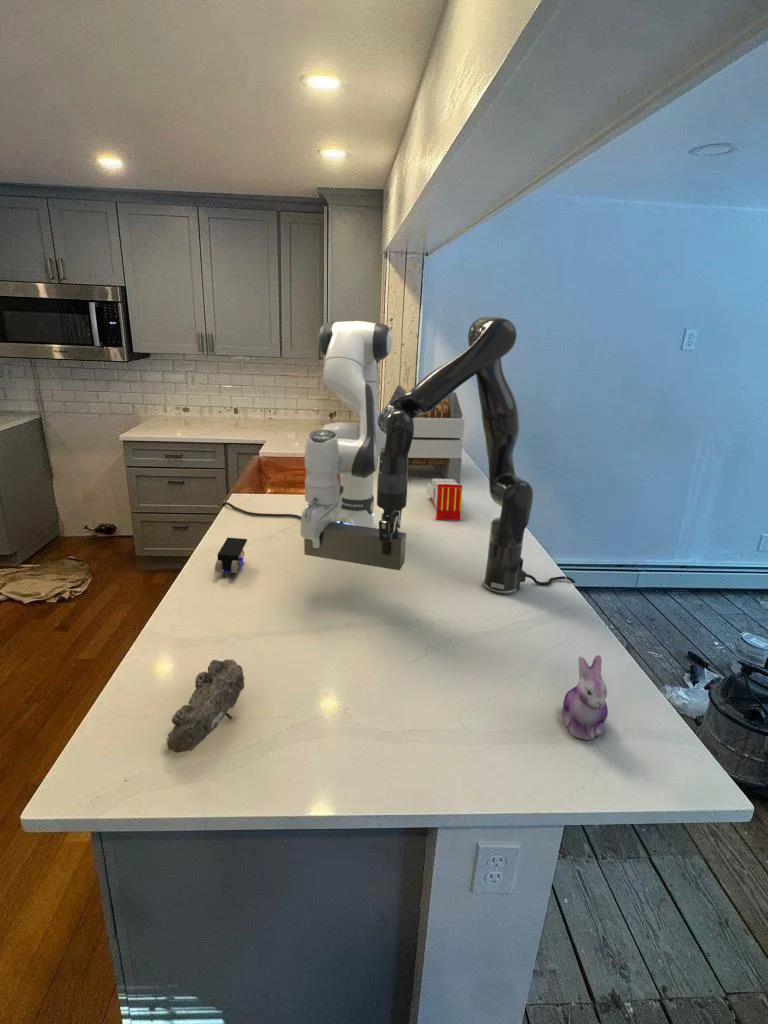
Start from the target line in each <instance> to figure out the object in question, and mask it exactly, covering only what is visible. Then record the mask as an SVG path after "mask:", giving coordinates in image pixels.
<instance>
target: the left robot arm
mask: <svg viewBox="0 0 768 1024" xmlns="http://www.w3.org/2000/svg"><path fill="white" fill-rule="evenodd" d="M317 342H318V347H319V350H320V352H321V354H323V356H325V359H324V363H323V372H322V381H323V384H324V386H325V388H326V390H328V392H329V393H330V394H331V395H333V396H334V397H335V398H337V399H338V400H341V401H342V404H343V406H344V407H345V408H346V409H347V410H348V411H349V412H352V413H353V414H355V415H356V416H358V417H359V422H347V421H346V422H343V421H337V422H331V423H325V424H324V425H323V426H322V427H321V429H317V430H314V431H311V432H309V434H308V435H307V437H306V442H305V450H304V469H305V479H304V500H305V502H307V504H306V507H305V508H304V509H302V512H301V515H299V514H294V513H293V514H292V513H263V512H261V513H260V512H251V511H247V510H244V509H242V508H239V507H238V506H237V507H236V506H235V505H233V504H232V503H230V502H228V501H225V502H223V503H222V504H221V507H225V506H229V507H230V508H232V509H233V510H235V511H238V512H240V513H242V514H245V515H249V516H255V517H273V518H274V517H275V518H276V517H279V518H281V517H282V518H283V517H284V518H286V517H288V518H297V519H299V520H300V536H301V538H302V539H304V538H305V539H312V541H313V547H314V548H319V547H320V546H321V540H320V539H319V536H320V533H321V532H322V531H323V530H324V528H325V527H326V526H327V525H328V524H330V523H331V522H336V523H343V524H350V525H356V526H363V527H370V528H375V523H374V517H375V513H373V512H374V509H375V496H374V473H375V472H376V471H377V468H378V467H379V458H380V452H381V449H382V448H384V447H385V443H386V434H385V433H384V432H382V431H381V430H380V428H379V426H378V417H379V414H380V413H381V411H380V409H379V406H378V365H377V364H378V363H379V364H380V362H381V361H383V360H384V359H386V358H387V357H388V356H389V354H390V351H391V349H392V346H393V336H392V333H391V328H389V326H388V325H387V324H386V323H385V324H384V323H381V322H370V321H365V320H364V321H363V320H355V321H353V320H351V321H350V320H348V321H344V320H343V321H335V320H331V321H326V322H324V323H323V324H322V325H321V326H320V328H319V332H318V337H317ZM338 475H339V476H338Z"/></svg>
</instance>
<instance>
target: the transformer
mask: <svg viewBox="0 0 768 1024" xmlns="http://www.w3.org/2000/svg"><path fill="white" fill-rule="evenodd" d="M406 393H407V390H406V389H404V388H403V387H402V385H399V384H398V385H397V386H396V388H395V390H394V392H393V394H392V395H391V398H390V400H389V402H388V404H390V403H391V402H393V401H394V400H396V399H398V398H399V397H401V396H402V395H404V394H406ZM388 404H387V405H388ZM413 422H414V435H413V439H412V443H411V447H410V450H409V453H408V466H411V467H412V466H413V467H415V466H416V467H417V466H418V467H436V468H437V470H438V469H439V473H440V474H441V475H443V479H454V480H455V481H456V482H457V483H458V484H459V483H461V472H462V461H463V460H462V453H463V442H464V441H463V440H462V439H463V438H464V431H465V430H464V429H465V419H464V418H463V411H462V408H461V405H460V402H459V398H458V395H457V392H455V390H454V391H453V392H452V393H451V394H450V395H448V396H447V397H446V398H445V399H444V400H443V401H442V402H441V403H439V404H438V405H437V406H436V407H435V408H434V409H433V410H431V411H430V412H429V413H427V414H424V415H418V416H416V417H415V418H414V419H413Z"/></svg>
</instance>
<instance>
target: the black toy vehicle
mask: <svg viewBox="0 0 768 1024" xmlns="http://www.w3.org/2000/svg"><path fill="white" fill-rule="evenodd" d="M247 542H248V538H240V537H226V539H225V541H224V543H223V544H222V546H221V547H220V549H219V551H218V552H217V560H216V562H215V564H214V572H215V573H221V577H222V578H224V577H225V576H226V574H227V573H230V574H231V573H232V574H231V578H234V577H235V575H236V573H237V572H239V571H240V567H242V566H243V565H244V564H245V562H244V558H245V551H244V547H245V546H246V544H247Z"/></svg>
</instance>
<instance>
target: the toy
mask: <svg viewBox="0 0 768 1024" xmlns="http://www.w3.org/2000/svg"><path fill="white" fill-rule="evenodd" d="M431 480H432V481H431V483H430V482H427V487H426V493H427V495H429V500H430V501H431V502H432V503H433V504H434V506H435V508H436V510H435V511H436V513H435V520H442V521H443V520H445V521H447V520H448V521H461V511H462V502H463V501H462V500H463V499H462V498H463V484H459V483H457V482H456V481H455V480H454V479H445V478H432V479H431Z"/></svg>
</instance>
